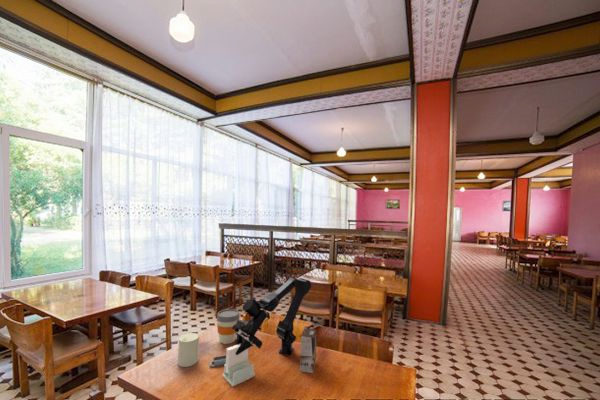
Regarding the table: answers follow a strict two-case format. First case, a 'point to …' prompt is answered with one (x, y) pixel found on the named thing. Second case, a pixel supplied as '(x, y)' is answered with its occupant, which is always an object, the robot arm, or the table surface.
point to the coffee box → (308, 350)
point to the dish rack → (239, 373)
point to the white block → (235, 357)
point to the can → (188, 349)
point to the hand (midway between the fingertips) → (234, 353)
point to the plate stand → (218, 361)
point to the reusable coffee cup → (227, 325)
